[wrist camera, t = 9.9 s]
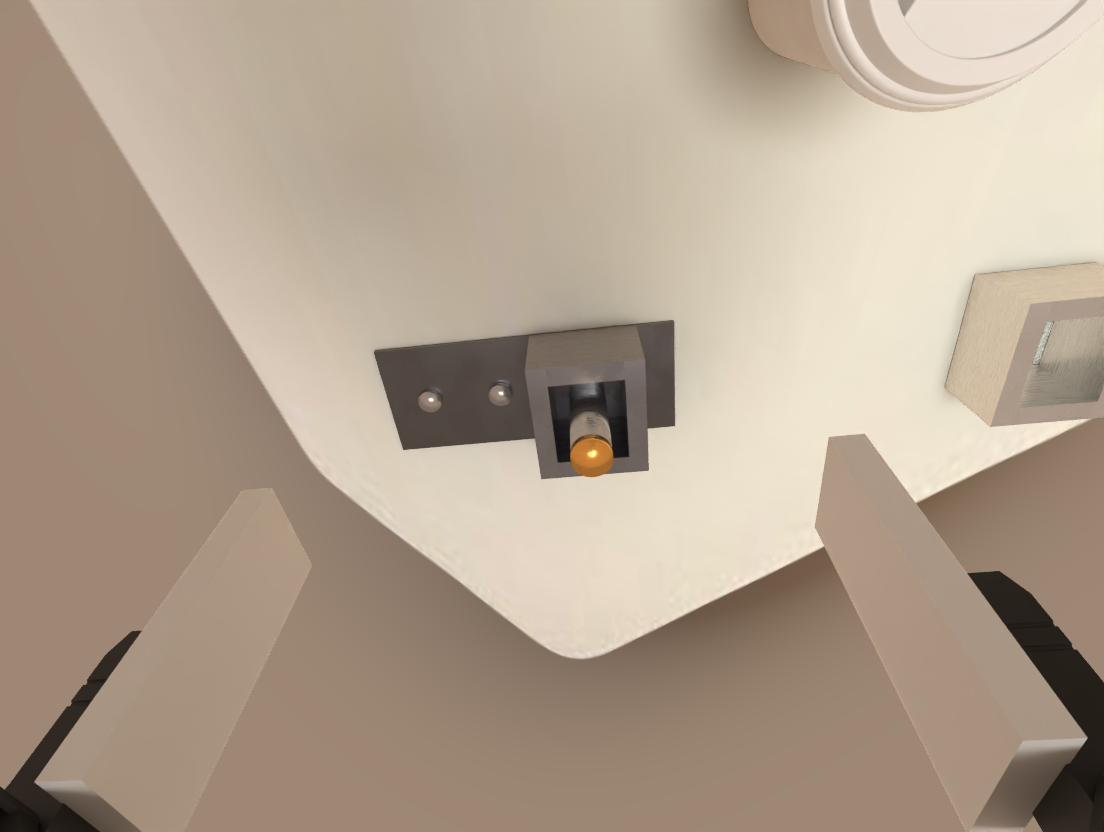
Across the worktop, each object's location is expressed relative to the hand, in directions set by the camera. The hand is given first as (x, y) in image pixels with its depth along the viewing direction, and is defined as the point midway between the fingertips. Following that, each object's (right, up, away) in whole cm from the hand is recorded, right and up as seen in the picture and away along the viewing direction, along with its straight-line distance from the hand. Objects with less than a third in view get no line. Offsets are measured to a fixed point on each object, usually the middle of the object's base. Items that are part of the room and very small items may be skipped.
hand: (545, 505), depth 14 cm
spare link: (+30, +8, +24) cm, 39 cm away
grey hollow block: (+3, +4, +26) cm, 26 cm away
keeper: (-1, +4, +27) cm, 27 cm away
